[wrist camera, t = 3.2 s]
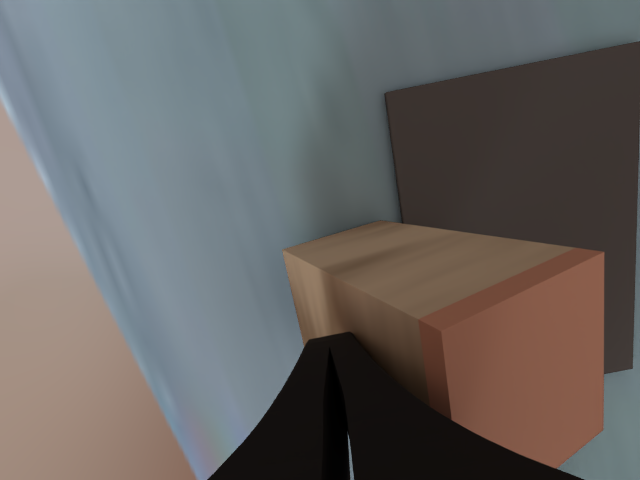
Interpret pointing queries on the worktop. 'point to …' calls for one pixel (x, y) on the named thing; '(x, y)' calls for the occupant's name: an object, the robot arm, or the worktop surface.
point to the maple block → (468, 326)
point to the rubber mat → (532, 163)
